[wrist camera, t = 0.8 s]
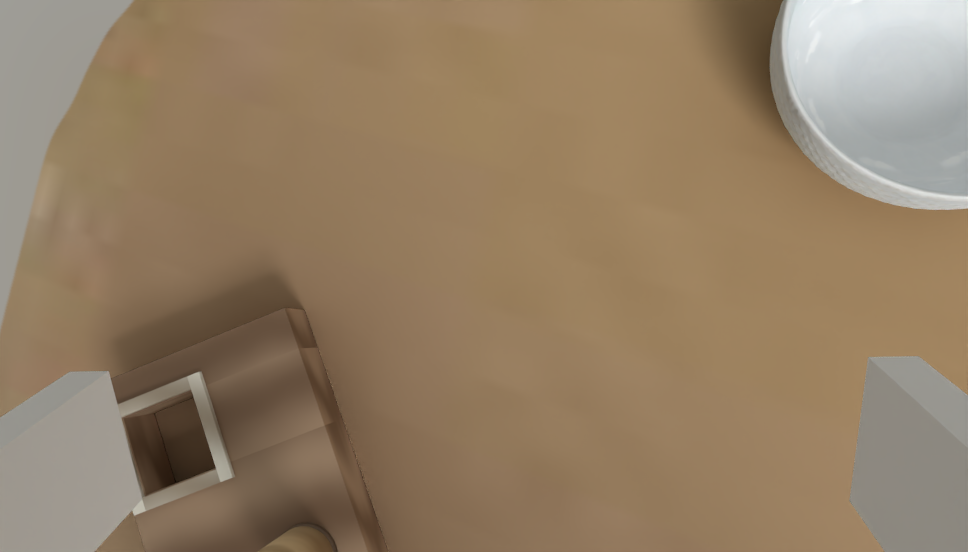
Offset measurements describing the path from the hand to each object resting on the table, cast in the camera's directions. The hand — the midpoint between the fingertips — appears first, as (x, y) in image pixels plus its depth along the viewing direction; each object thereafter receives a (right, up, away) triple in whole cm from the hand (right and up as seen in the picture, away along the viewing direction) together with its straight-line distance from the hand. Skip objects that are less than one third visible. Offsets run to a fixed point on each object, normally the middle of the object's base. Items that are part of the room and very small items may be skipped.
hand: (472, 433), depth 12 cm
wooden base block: (-14, -10, +30) cm, 35 cm away
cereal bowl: (+25, +14, +28) cm, 40 cm away
